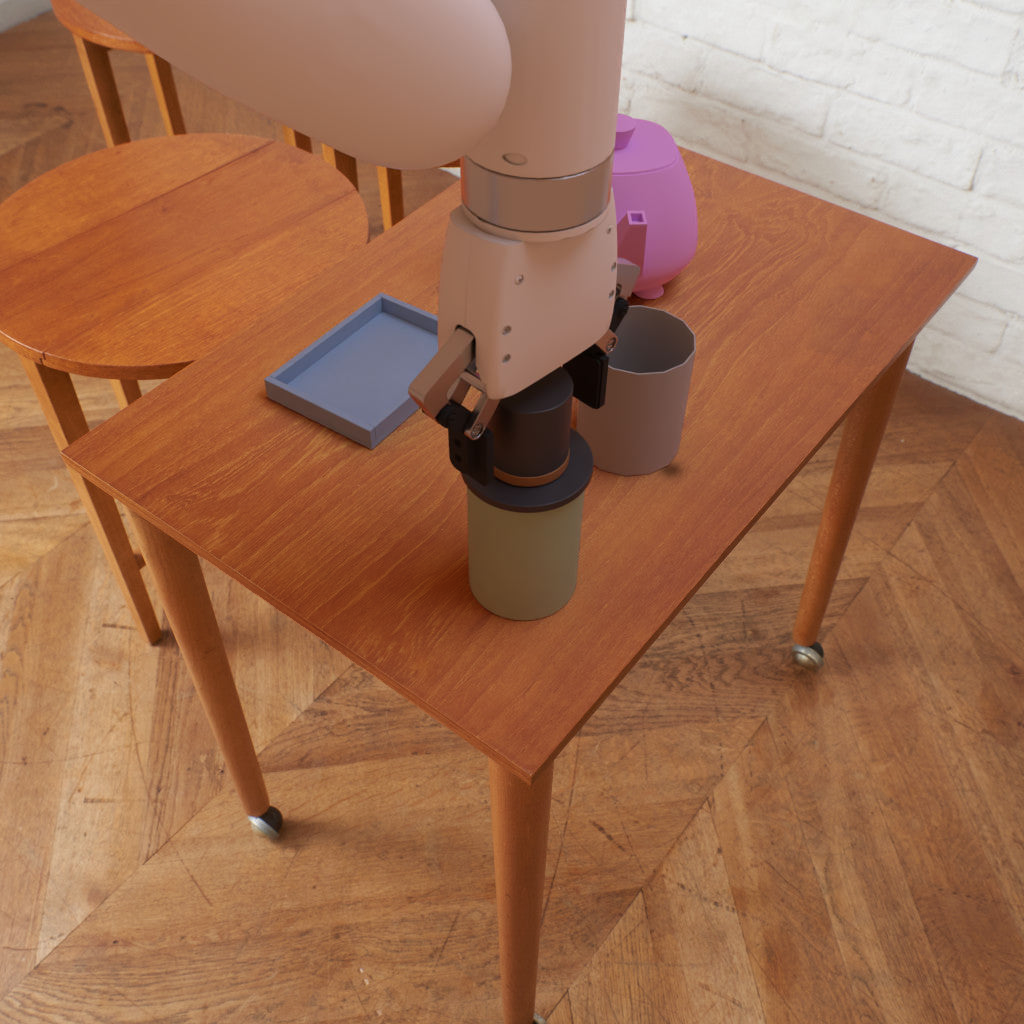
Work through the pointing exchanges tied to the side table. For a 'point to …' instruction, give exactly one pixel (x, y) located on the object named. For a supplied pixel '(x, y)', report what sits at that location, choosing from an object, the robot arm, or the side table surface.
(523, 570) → the pedestal
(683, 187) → the teapot
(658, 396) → the cup
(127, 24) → the robot arm
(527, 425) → the hat
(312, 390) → the tray
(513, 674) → the side table surface
